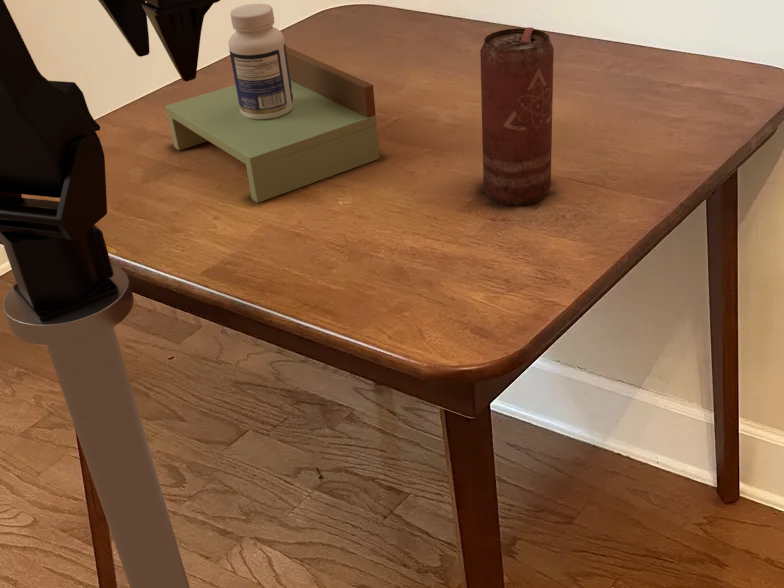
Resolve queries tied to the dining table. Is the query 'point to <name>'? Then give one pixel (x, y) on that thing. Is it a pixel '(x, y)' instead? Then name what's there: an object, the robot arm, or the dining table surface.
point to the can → (517, 115)
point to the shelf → (287, 128)
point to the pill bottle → (259, 63)
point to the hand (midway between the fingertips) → (165, 67)
